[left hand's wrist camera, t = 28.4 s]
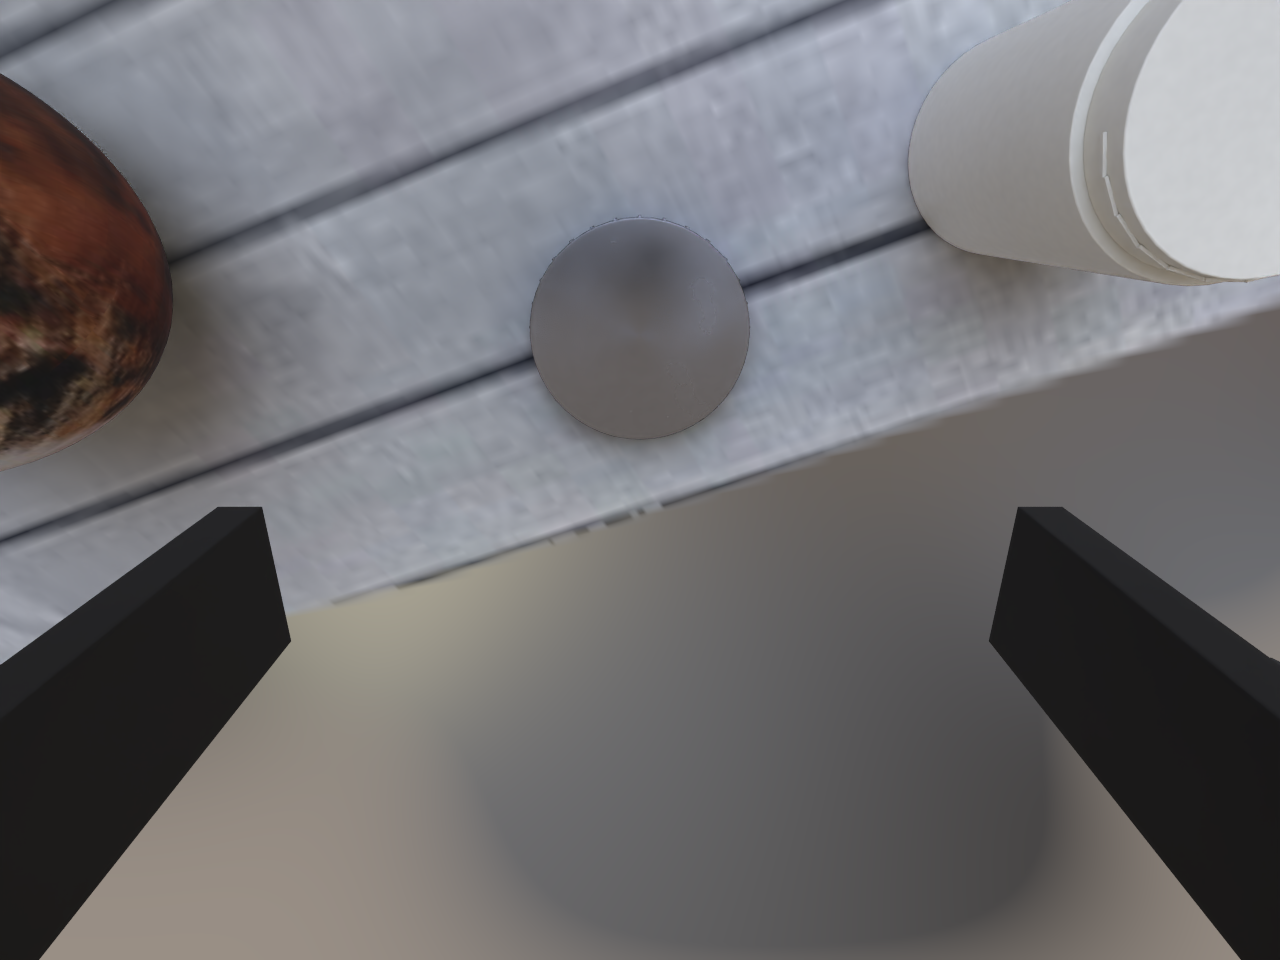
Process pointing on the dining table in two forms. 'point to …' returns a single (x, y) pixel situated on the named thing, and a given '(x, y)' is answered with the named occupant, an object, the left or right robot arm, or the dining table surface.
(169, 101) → the dining table surface
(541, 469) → the dining table surface
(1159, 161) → the jar
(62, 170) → the cat face ball
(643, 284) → the lid
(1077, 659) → the left robot arm
